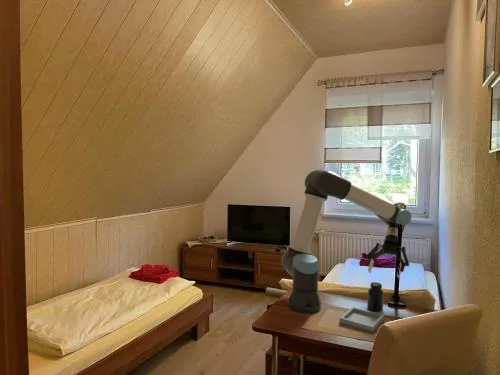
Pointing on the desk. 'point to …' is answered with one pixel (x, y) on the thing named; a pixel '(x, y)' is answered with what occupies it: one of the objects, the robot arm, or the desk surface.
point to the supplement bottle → (375, 297)
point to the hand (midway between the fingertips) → (383, 274)
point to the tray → (362, 319)
